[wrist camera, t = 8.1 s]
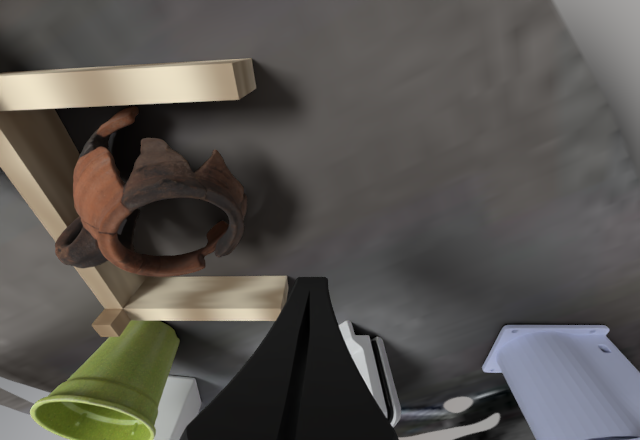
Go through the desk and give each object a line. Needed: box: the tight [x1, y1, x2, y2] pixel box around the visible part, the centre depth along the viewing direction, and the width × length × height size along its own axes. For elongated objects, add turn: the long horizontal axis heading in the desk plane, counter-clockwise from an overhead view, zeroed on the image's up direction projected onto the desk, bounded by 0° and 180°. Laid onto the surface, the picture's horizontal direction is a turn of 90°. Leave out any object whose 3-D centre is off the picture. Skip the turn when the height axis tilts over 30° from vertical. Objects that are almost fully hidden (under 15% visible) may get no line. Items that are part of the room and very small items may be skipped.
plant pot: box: [30, 320, 180, 440], centre depth 26 cm, size 9×9×9 cm
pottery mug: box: [55, 106, 247, 277], centre depth 18 cm, size 12×10×8 cm
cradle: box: [0, 58, 289, 337], centre depth 18 cm, size 14×18×5 cm
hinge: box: [339, 320, 401, 427], centre depth 29 cm, size 17×5×10 cm, turn 140°
